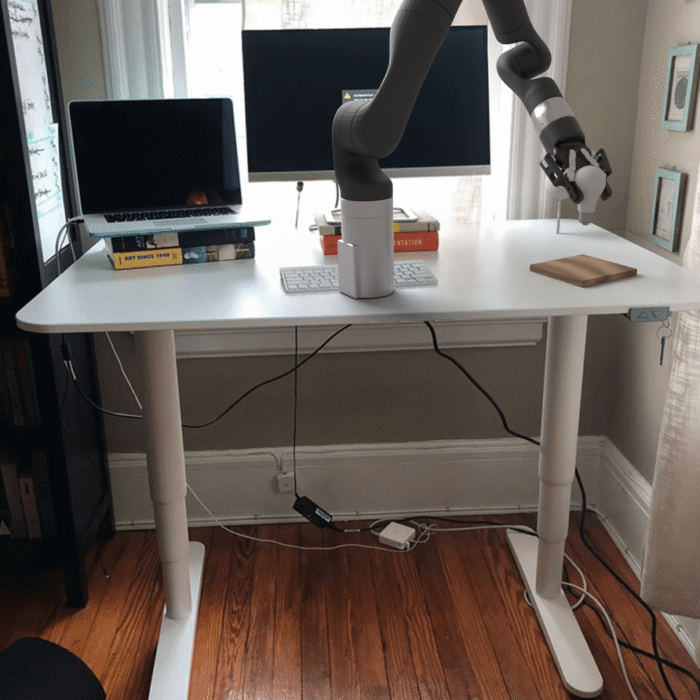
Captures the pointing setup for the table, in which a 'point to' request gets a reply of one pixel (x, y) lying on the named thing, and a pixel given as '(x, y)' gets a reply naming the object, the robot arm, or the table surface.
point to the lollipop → (556, 196)
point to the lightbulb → (589, 191)
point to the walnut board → (583, 270)
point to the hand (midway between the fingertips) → (594, 199)
